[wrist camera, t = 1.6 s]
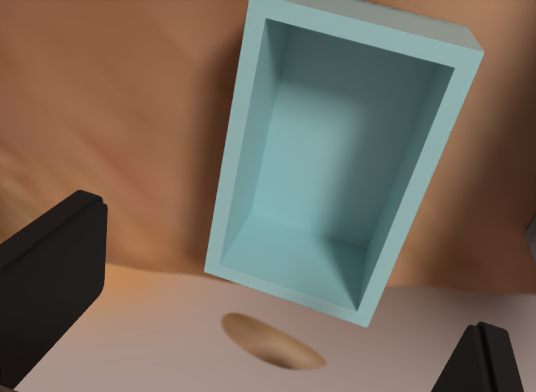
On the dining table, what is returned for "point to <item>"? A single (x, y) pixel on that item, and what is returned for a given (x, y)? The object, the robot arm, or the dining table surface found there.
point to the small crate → (333, 147)
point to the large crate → (532, 238)
